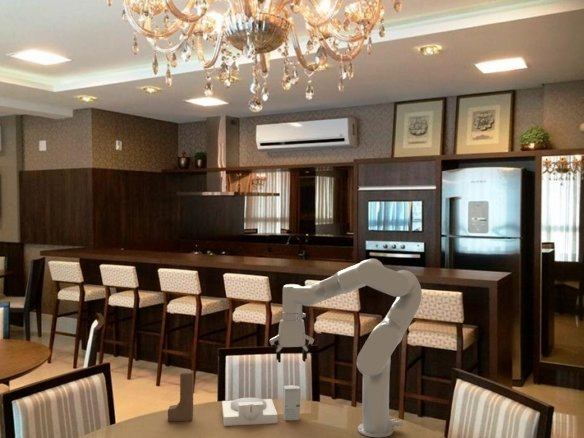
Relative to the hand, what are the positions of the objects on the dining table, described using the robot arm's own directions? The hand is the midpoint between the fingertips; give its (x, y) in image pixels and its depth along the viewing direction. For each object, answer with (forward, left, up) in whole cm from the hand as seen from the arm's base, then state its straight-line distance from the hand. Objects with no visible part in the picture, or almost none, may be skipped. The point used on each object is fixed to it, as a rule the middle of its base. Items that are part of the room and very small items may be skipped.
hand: (291, 361), depth 208 cm
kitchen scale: (+16, -5, -22) cm, 28 cm away
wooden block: (+42, -5, -22) cm, 48 cm away
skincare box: (0, 0, -22) cm, 22 cm away
